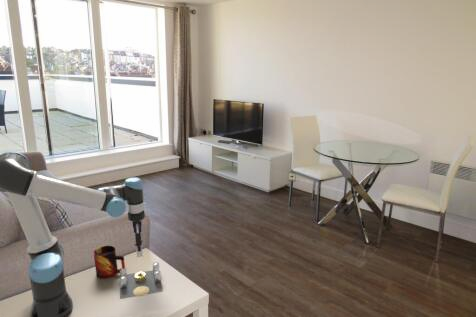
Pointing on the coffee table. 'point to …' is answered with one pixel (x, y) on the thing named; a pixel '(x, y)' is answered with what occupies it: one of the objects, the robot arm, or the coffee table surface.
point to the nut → (140, 277)
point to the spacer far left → (123, 272)
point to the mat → (140, 286)
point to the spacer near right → (157, 276)
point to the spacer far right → (155, 266)
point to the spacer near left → (123, 282)
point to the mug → (107, 262)
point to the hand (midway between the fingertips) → (139, 255)
